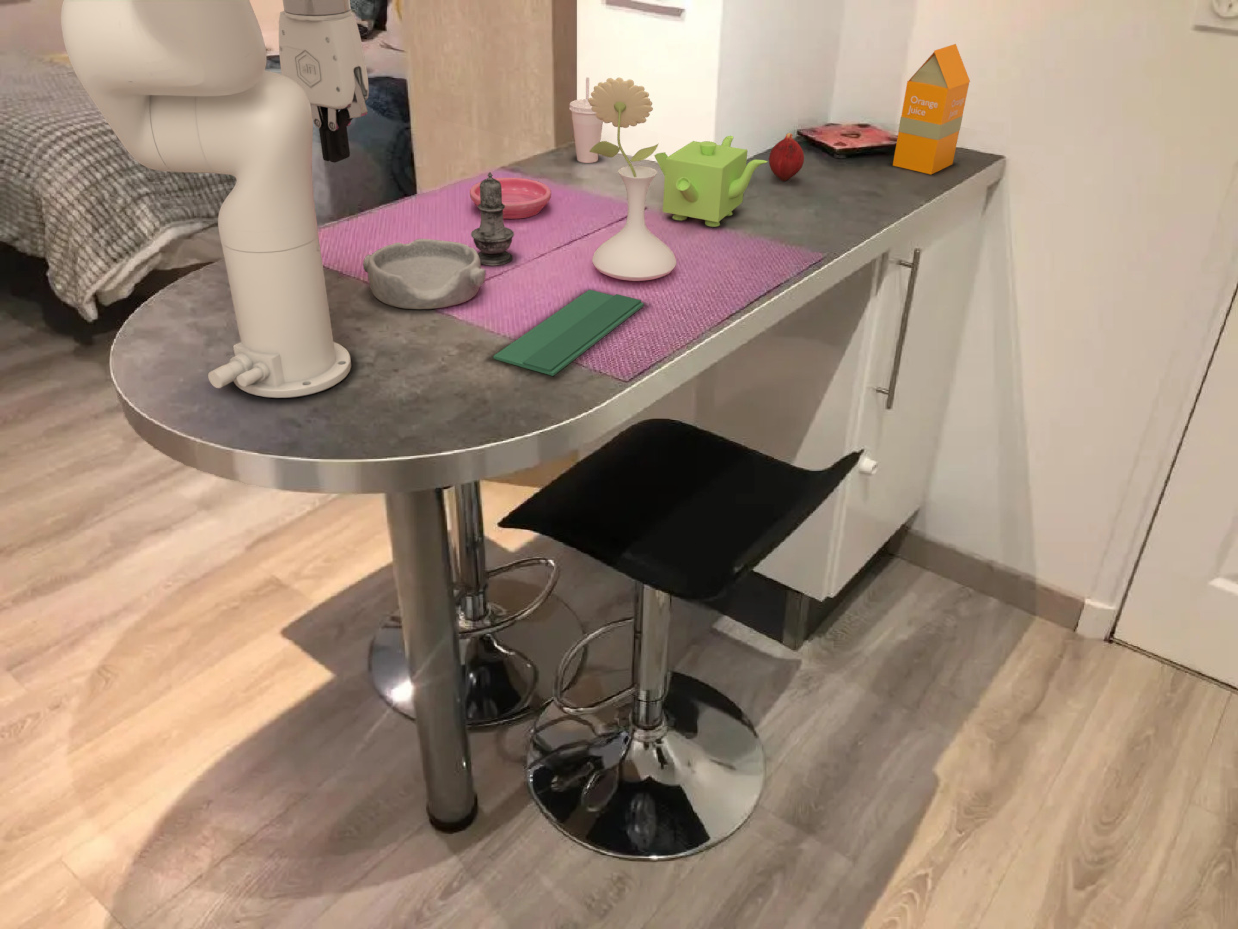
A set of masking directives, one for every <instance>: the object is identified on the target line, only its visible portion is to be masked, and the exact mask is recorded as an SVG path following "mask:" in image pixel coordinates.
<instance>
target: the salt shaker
mask: <svg viewBox="0 0 1238 929" xmlns="http://www.w3.org/2000/svg"><path fill="white" fill-rule="evenodd" d="M493 176H494V175H493V173H491V172H489V173H488V174H487V177H486V178H485V179H483V180H482V182H481V181H480V182H481V183H480V201H481V204H479V205H478V206H477V208H478V209H479V212H480V224H479V227H477V228H475V229H473V230H472V231H471V232H470V236H471V238H472V239H473V243H474V246H475V248H477V249H478V250H479V252H477V253H478V255H479V258H480V263H481V265H484V266H503V265H506V264H509V263H511V262H512V261H513V259H514V257H513V255H512V254H511V253H510V252H508V249H509V248H510V247H511V244H512V242H513V237H514V236H515V232H514V231H513V230H512V229H511V228H509V227H506V226H505V223H504V219H503V209H504V208H505V205H504V204H502V189H501V183H500V182H499V181H498V180H496V179H494V178H495V177H494V178H493Z"/></svg>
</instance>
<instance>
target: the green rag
mask: <svg viewBox="0 0 1238 929" xmlns="http://www.w3.org/2000/svg"><path fill="white" fill-rule="evenodd" d="M644 306H645V303H644V302H642V300H641V299H638V298H635V297H634V298H633V297H630V296H625V295H622V294H618V293H616V294H614V295H613V294H609V293H605V292H601V291H597V290H593V289H588V290H587V291H585V292H584V293H582V294H581V295H579V296H578V297H576V298H575V299H573V300H572V301H571V302H569V303H568V304H566V305H565V306H563V307H562V308H560V309H559V310H557V311H556V312H555V313H553V314H552V315H550V316H549V317H547V318H546V319H544V320H543V321H542V322H540V323H539V324H537V325H536V326H534V327H533V328H532V329H529V331H526V332H525V333H524V334H523V335H521V336H520V337H518V338H517V339H515V340H514V341H512V342H511V343H510V344H509V345H507V346H505V347H504V348H503V349H501V350H499V351H498V352H497V353H495V354H494V355H493V357H492V359H493V360H497V361H499V362H503V363H507V364H510V365H513V366H517V367H519V368H523V369H527V370H529V371H530V370H531V371H534V372H537V373H541V374H544V375H548V376H551V377H554V376H555V375H557V374H558V373H559V372H560V371H562V370H563V369H564V368H565V367H567V366H569V365H570V364H571V363H572V362H574V361H575V360H576V359H578V358H579V357H580V356H581V355H583V353H585V352H586V351H588V350H589V349H590V348H591V347H593V346H594V345H595V344H597V343H598V342H599V341H601V340H602V339H603V338H605V337H606V336H607V335H608V334H609V333H611V332H612V331H614V329H615V330H616V328H617V327H618V326H620V325H621V324H622V323H624V322H625V321H627V320H628V319H629V318H630V317H632V315H635V313H637V312H638V311H639V310H641V309H642V308H643V307H644Z"/></svg>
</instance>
